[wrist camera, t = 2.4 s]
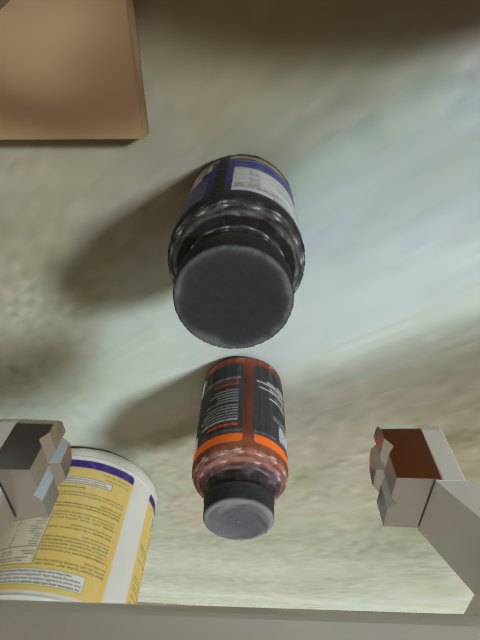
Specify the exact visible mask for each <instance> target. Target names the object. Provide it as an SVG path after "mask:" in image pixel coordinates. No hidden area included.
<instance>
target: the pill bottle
mask: <svg viewBox="0 0 480 640" xmlns="http://www.w3.org/2000/svg"><path fill="white" fill-rule="evenodd" d="M304 252H305V249H304V244H303V241H302V237H301V233H300V229H299V224H298V220H297V215H296V211H295V206H294V202H293V196H292V193H291V190H290V187H289V184H288V182H287V180H286V179H285V177H284V176H283V175H282V173H281V172H280V171H279V170H278V169H277V168H276V167H275V166H273V165H272V164H270V163H269V162H267V161H266V160H264V159H262V158H260V157H258V156H253V155H245V154H238V155H231V156H227V157H223V158H220V159H217V160H215V161H214V162H212V163H211V164H210V165H208V166H206V167H205V169H204V170H203V171H202V172H200V174H199V175H198V177H197V178H196V180H195V182H194V184H193V186H192V188H191V190H190V193H189V195H188V197H187V200H186V202H185V205H184V207H183V210H182V212H181V215H180V217H179V220H178V222H177V225H176V227H175V229H174V231H173V233H172V236H171V240H170V244H169V249H168V266H169V272H170V275H171V278H172V281H173V283H174V288H173V301H174V306H175V310H176V313H177V315H178V317H179V319H180V320H181V322H182V323H183V325H184V326H185V327H186V328H187V330H189V331H190V332H191V333H192V334H193V335H194V336H196V337H198V338H199V339H201V340H203V341H204V342H206V343H209V344H211V345H213V346H218V347H223V348H229V349H233V348H236V349H237V348H248V347H253V346H255V345H257V344H261V343H263V342H264V341H266V340H268V339H270V338H272V337H273V336H274V335H275V334H277V333H278V332H279V331H280V330H281V329H282V328H283V327H284V325H285V324H286V322H287V320H288V318H289V316H290V314H291V311H292V308H293V301H294V293H295V292H296V290H297V289H298V287H299V285H300V282H301V280H302V277H303V271H304V266H305V254H304Z"/></svg>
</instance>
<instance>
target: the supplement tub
mask: <svg viewBox="0 0 480 640" xmlns="http://www.w3.org/2000/svg"><path fill="white" fill-rule="evenodd" d="M71 452H72V460H71V466H70V470H69V473H68V475H67V478H66V479H65V480H64V481H63V482H61V483H60V484H59V485H58V486H57V489H58V492H59V496H58V498H57V501H56V503H55V505H54V507H53V510H52V512H51V514H50V517H15V518H16V520H15V521H14V522H13V523H12V524H10V525H9V526H8V527H7V528H6V529H5V530H4V531H3V532H2V533H1V534H0V600H29V601H60V602H91V603H123V604H137V599H138V595H139V590H140V585H141V580H142V575H143V570H144V565H145V560H146V555H147V551H148V546H149V541H150V536H151V531H152V526H153V521H154V517H155V513H156V508H157V494H156V490H155V488H154V485H153V483H152V482H151V480H150V479H149V477H148V476H147V475H146V474H145V473H144V472H143V471H142V470H141V469H140V468H139V467H137V466H136V465H135V464H133V463H132V462H130V461H128V460H126V459H124V458H122V457H120V456H118V455H115V454H112V453H109V452H105V451H101V450H95V449H87V448H71Z"/></svg>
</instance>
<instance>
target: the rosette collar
mask: <svg viewBox="0 0 480 640" xmlns="http://www.w3.org/2000/svg"><path fill="white" fill-rule="evenodd" d="M9 1H10V0H0V9H1V8H3V7H4V6H5V5H6V4H7V3H8V2H9Z"/></svg>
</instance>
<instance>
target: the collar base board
mask: <svg viewBox="0 0 480 640" xmlns="http://www.w3.org/2000/svg"><path fill="white" fill-rule="evenodd" d="M148 133H149V130H148V121H147V113H146V104H145V96H144V88H143V79H142V71H141V62H140V54H139V45H138V37H137V28H136V20H135V11H134V3H133V0H10V1H9V2H8V3H7V4H6V5H5V6H4V7H3V8H1V9H0V140H25V139H143V138H144V137H145V136H146V135H147V134H148Z"/></svg>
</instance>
